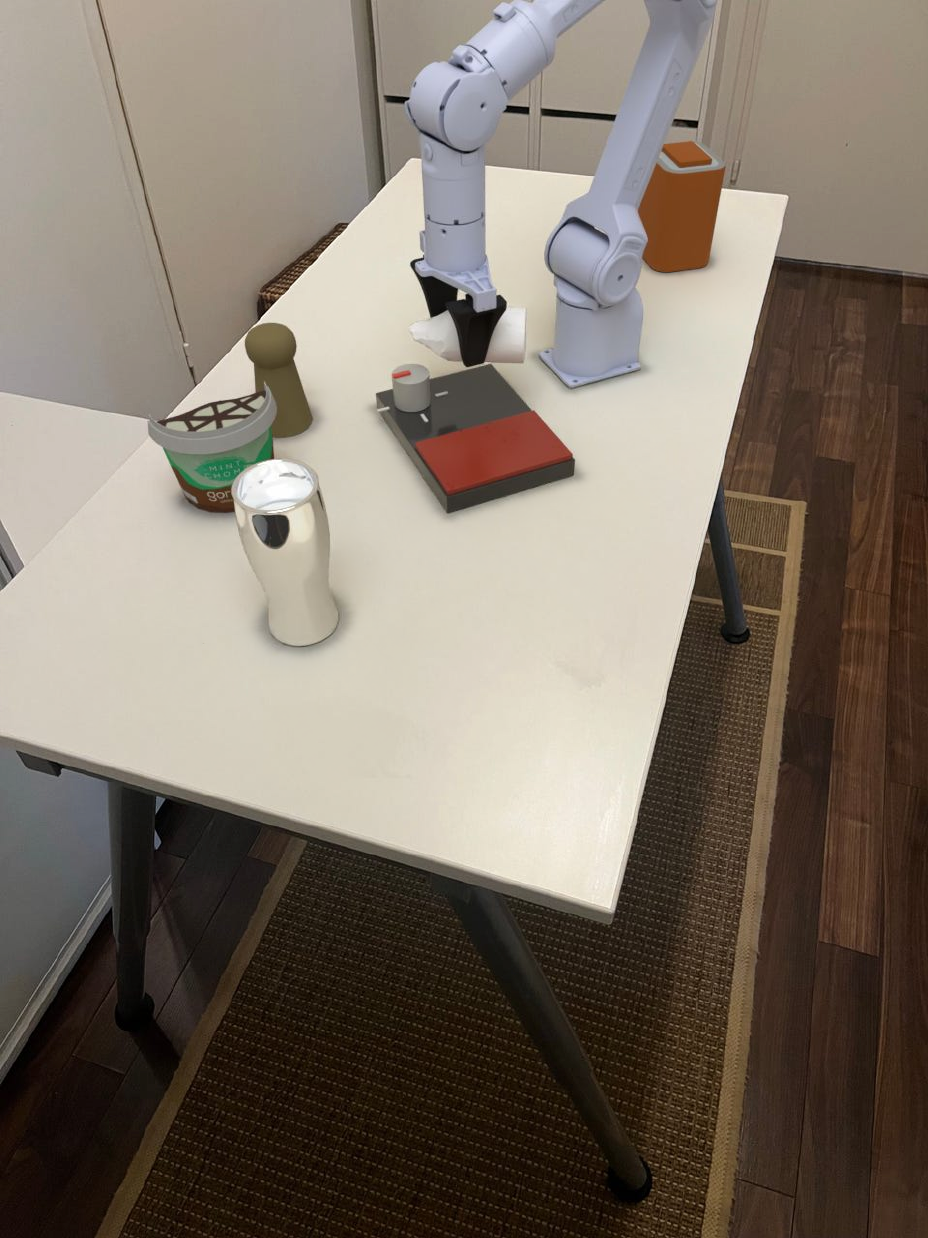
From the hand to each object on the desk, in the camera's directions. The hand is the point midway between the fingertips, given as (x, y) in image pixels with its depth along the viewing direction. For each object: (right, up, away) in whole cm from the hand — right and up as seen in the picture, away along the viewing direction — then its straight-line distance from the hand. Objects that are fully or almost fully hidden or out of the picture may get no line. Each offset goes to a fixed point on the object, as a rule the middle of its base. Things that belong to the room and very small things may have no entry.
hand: (458, 344), depth 96 cm
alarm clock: (+29, +23, +33) cm, 50 cm away
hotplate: (+4, -12, -2) cm, 12 cm away
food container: (-22, -16, -3) cm, 28 cm away
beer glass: (-13, -29, -15) cm, 35 cm away
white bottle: (+1, -1, +2) cm, 2 cm away
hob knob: (-5, -5, +4) cm, 8 cm away
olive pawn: (-19, -7, +6) cm, 21 cm away
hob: (+1, -9, +3) cm, 10 cm away
